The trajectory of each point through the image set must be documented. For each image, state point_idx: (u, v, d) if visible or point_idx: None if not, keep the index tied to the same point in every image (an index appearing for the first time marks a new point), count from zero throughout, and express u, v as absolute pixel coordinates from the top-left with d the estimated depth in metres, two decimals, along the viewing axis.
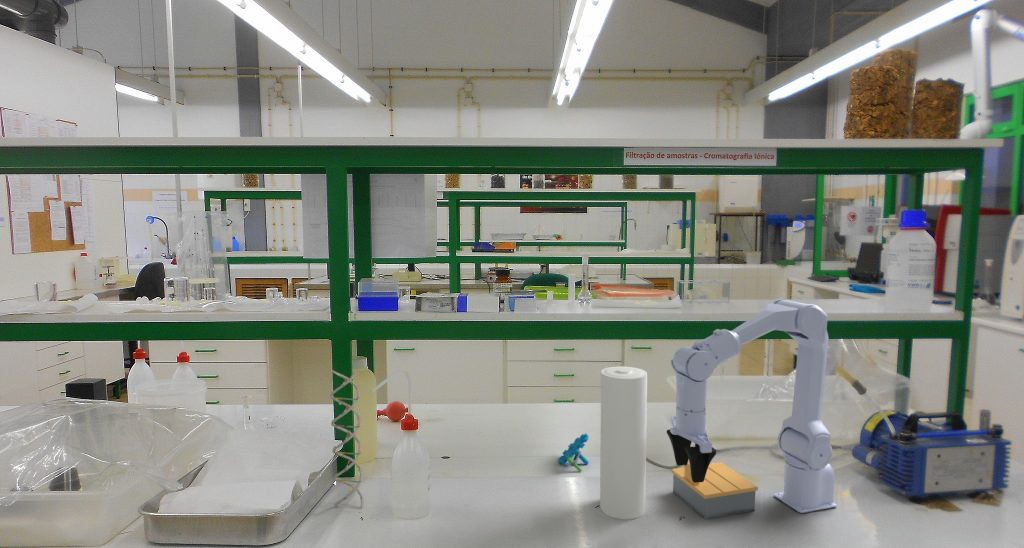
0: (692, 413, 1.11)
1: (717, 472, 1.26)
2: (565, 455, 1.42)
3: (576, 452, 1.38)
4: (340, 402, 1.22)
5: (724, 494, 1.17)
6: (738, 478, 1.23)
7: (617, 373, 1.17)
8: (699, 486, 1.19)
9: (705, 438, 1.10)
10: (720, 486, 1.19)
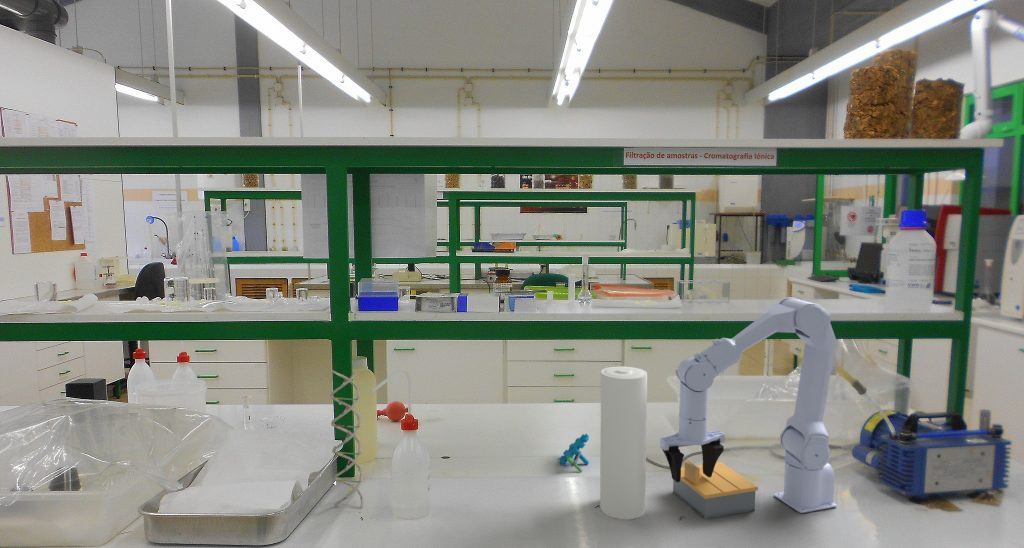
0: (679, 416, 1.20)
1: (717, 472, 1.26)
2: (565, 455, 1.42)
3: (576, 452, 1.38)
4: (340, 402, 1.22)
5: (724, 494, 1.17)
6: (738, 478, 1.23)
7: (617, 373, 1.17)
8: (699, 486, 1.19)
9: (675, 440, 1.19)
10: (720, 486, 1.19)
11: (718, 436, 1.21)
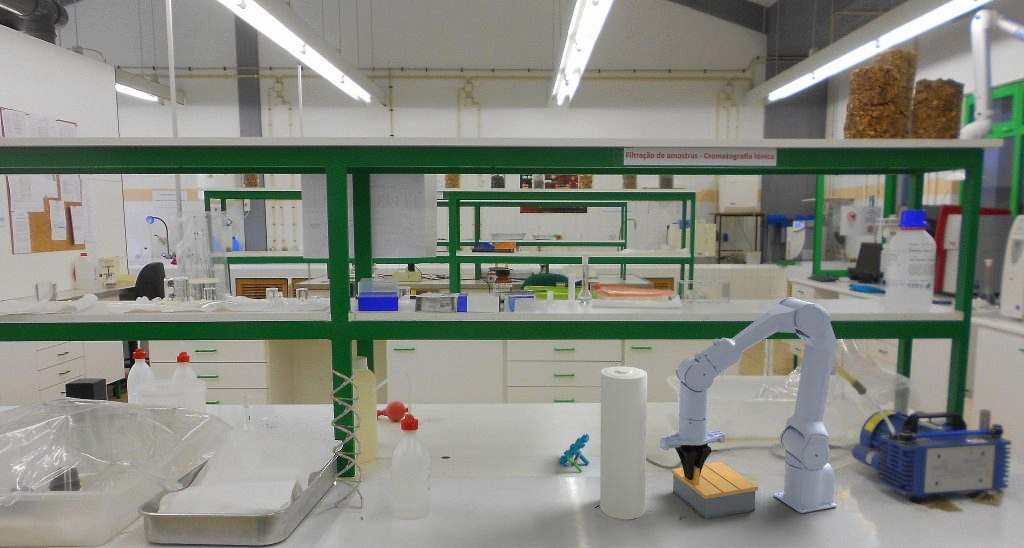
0: (679, 416, 1.20)
1: (717, 472, 1.26)
2: (566, 455, 1.42)
3: (576, 452, 1.38)
4: (340, 402, 1.22)
5: (724, 494, 1.17)
6: (738, 478, 1.23)
7: (617, 373, 1.17)
8: (699, 486, 1.19)
9: (675, 440, 1.19)
10: (720, 486, 1.19)
11: (718, 436, 1.21)
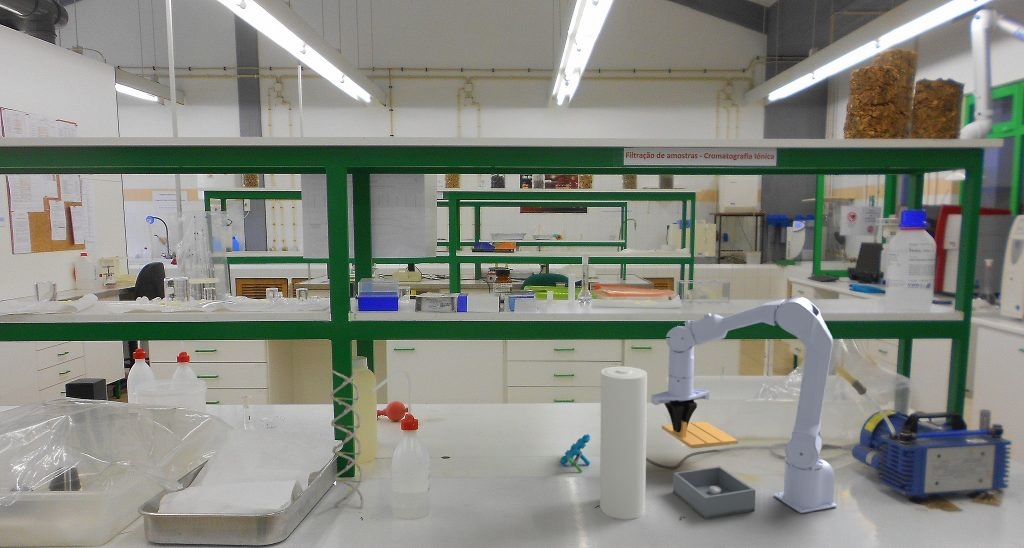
0: None
1: (702, 429, 1.40)
2: (566, 455, 1.42)
3: (577, 452, 1.38)
4: (340, 402, 1.22)
5: (708, 445, 1.32)
6: (721, 433, 1.38)
7: (617, 373, 1.17)
8: (686, 438, 1.34)
9: (664, 396, 1.33)
10: (704, 439, 1.34)
11: (703, 393, 1.36)
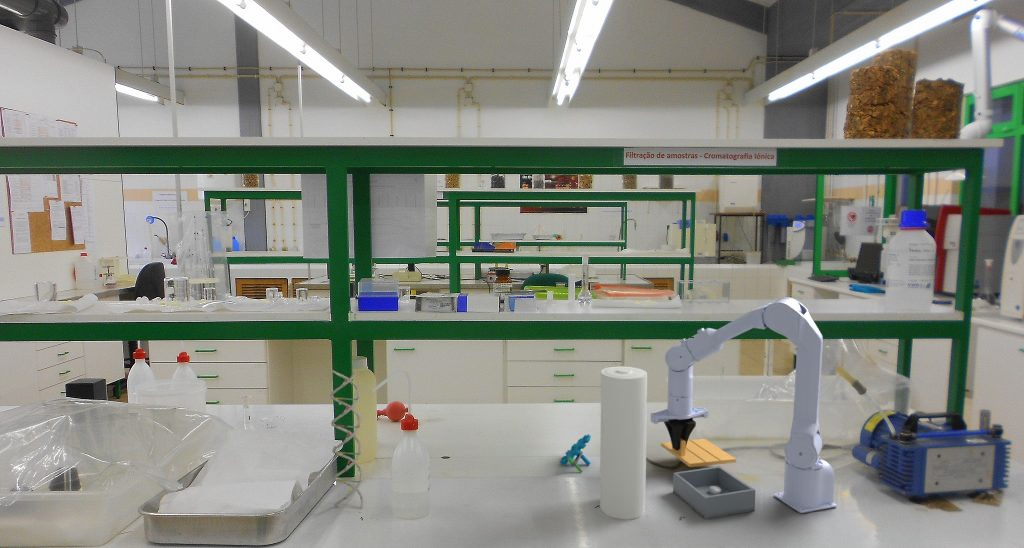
0: (668, 394, 1.37)
1: (701, 446, 1.42)
2: (567, 455, 1.42)
3: (577, 452, 1.38)
4: (340, 402, 1.22)
5: (706, 464, 1.33)
6: (720, 451, 1.39)
7: (617, 373, 1.17)
8: (685, 457, 1.35)
9: None
10: (703, 457, 1.35)
11: (702, 412, 1.37)
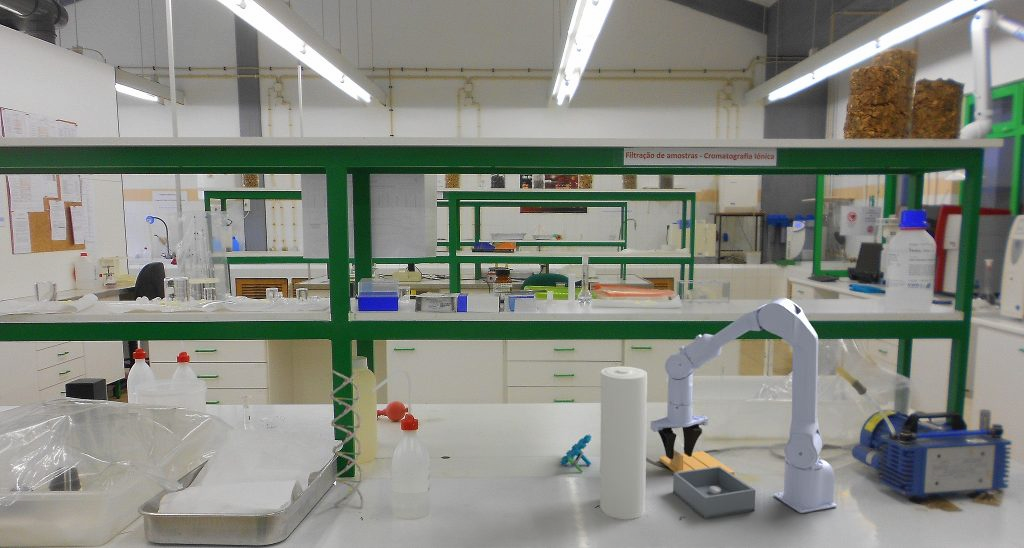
0: None
1: (699, 459, 1.42)
2: (567, 455, 1.42)
3: (577, 453, 1.38)
4: (340, 402, 1.22)
5: None
6: (718, 464, 1.39)
7: (617, 373, 1.17)
8: None
9: None
10: None
11: (702, 419, 1.37)
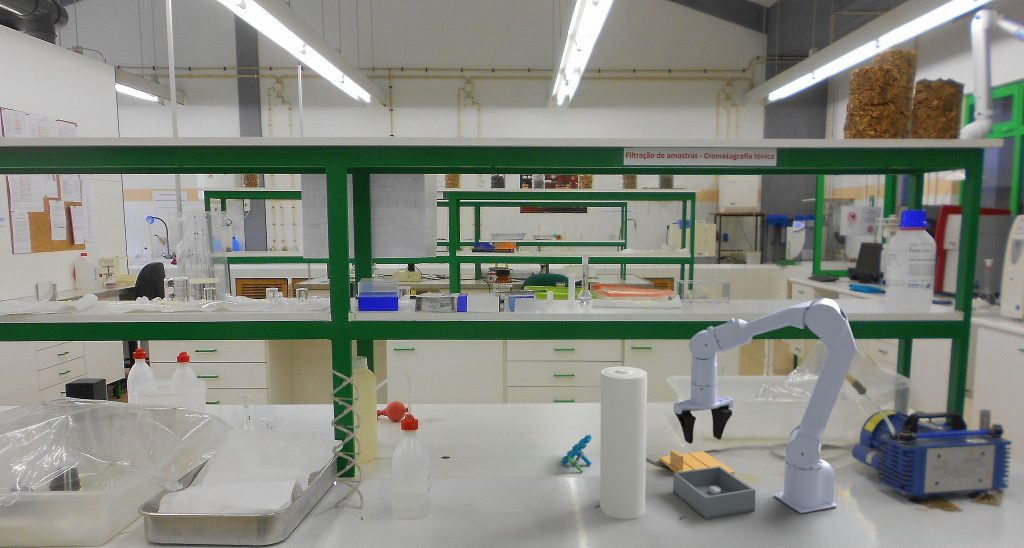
0: (691, 383, 1.31)
1: (699, 459, 1.42)
2: (568, 455, 1.42)
3: (577, 453, 1.37)
4: (340, 402, 1.22)
5: None
6: (718, 464, 1.39)
7: (617, 373, 1.17)
8: None
9: (687, 405, 1.30)
10: None
11: (727, 401, 1.32)
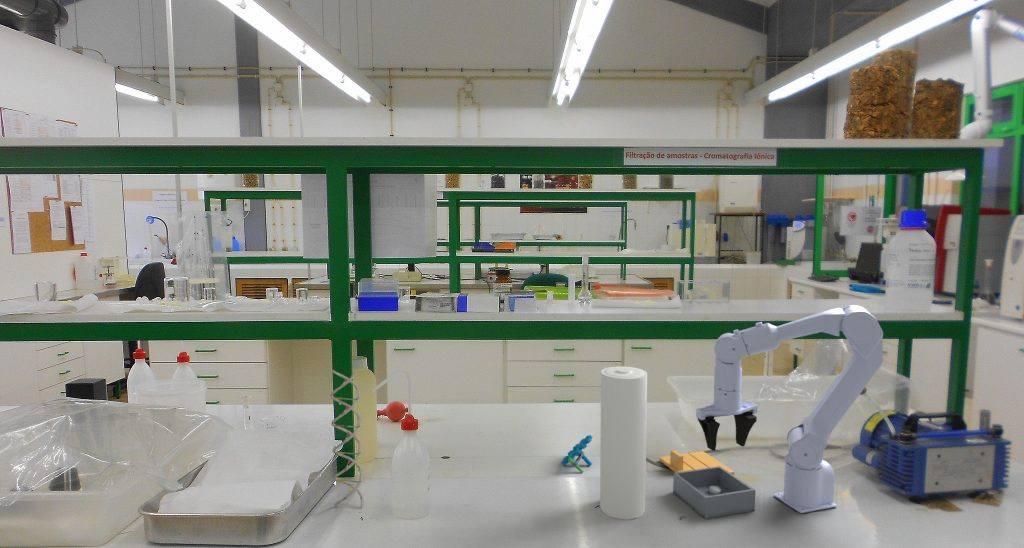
0: (714, 388, 1.27)
1: (699, 459, 1.42)
2: (568, 455, 1.42)
3: (577, 453, 1.37)
4: (340, 402, 1.22)
5: None
6: (718, 464, 1.39)
7: (617, 373, 1.17)
8: None
9: (711, 411, 1.25)
10: None
11: (751, 407, 1.28)
